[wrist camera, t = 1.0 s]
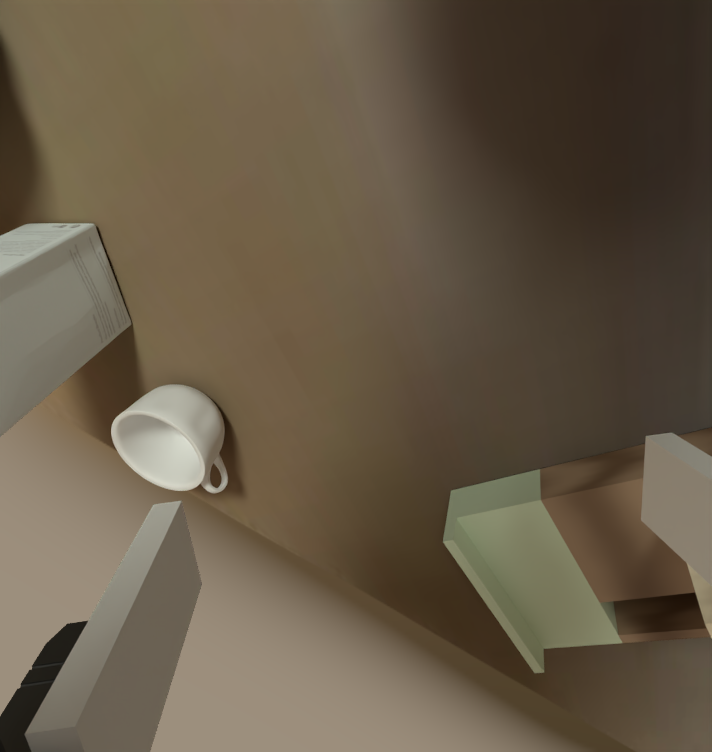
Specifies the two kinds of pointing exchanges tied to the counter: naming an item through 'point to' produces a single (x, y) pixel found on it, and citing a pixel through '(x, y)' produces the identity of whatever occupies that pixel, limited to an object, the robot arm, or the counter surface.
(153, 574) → the robot arm
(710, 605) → the maple block
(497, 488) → the pad
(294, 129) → the counter surface
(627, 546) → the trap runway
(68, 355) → the skincare box
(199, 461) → the teacup
